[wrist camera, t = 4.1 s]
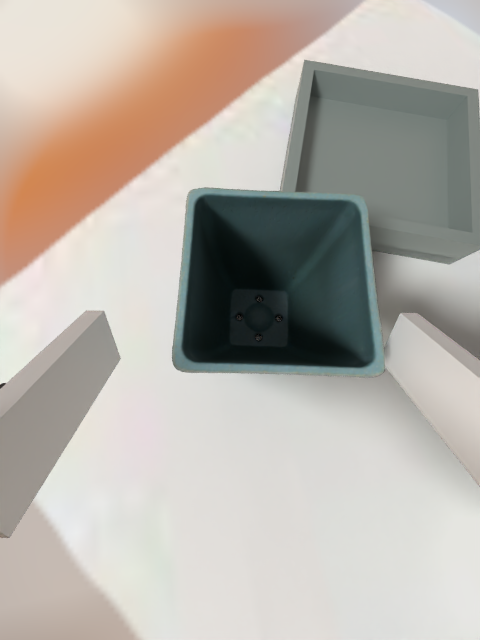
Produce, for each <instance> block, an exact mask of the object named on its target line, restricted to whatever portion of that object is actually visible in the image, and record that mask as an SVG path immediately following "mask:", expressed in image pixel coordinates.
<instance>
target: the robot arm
mask: <svg viewBox="0 0 480 640" xmlns="http://www.w3.org/2000/svg"><path fill="white" fill-rule="evenodd" d="M384 353H385V367H386V368H387V370H388V371H389V372H390V373H391V375H392V376H393V377H394V379H395V380H396V381H397V382H398V384H399V385H400V386H401V387H402V389H403V390H404V391H405V393H406V394H407V395H408V396H409V398H410V399H411V400H412V401H413V403H414V404H415V405H416V406H417V408H418V409H419V410H420V412H421V413H422V414H423V415H424V417H425V418H426V419H427V420H428V422H429V423H430V424H431V426H432V427H433V428H434V429H435V431H436V432H437V433H438V434H439V436H440V437H441V438H442V440H443V441H444V442H445V443H446V445H447V446H448V447H449V448H450V450H451V451H452V452H453V454H454V455H455V456H456V457H457V459H458V460H459V461H460V462H461V464H462V465H463V466H464V468H465V469H466V470H467V471H468V473H469V474H470V475H471V476H472V478H473V479H474V480H475V481H476V483H477V484H478V485H479V487H480V360H479V359H477V358H476V357H475V356H473V355H472V354H471V353H469V352H468V351H467V350H465V349H464V348H463V347H461V346H460V345H459V344H458V343H456V342H455V341H454V340H452V339H451V338H450V337H448V336H447V335H446V334H444V333H443V332H442V331H440V330H439V329H438V328H436V327H435V326H434V325H432V324H431V323H430V322H428V321H427V320H426V319H424V318H423V317H422V316H420V315H419V314H418V313H400V315H399V317H398V319H397V321H396V323H395V326H394V328H393V330H392V332H391V334H390V336H389V339H388V341H387V343H386V345H385V347H384ZM120 359H121V358H120V355H119V352H118V349H117V347H116V344H115V341H114V338H113V335H112V332H111V329H110V327H109V324H108V321H107V318H106V315H105V312H104V311H85V312H84V313H83V314H82V315H81V316H80V317H79V318H77V319H76V320H75V321H74V322H73V323H72V324H71V325H70V326H69V327H68V328H67V329H65V330H64V331H63V332H62V333H61V334H60V335H59V336H58V337H57V338H56V339H54V340H53V341H52V342H51V343H50V344H49V345H48V346H47V347H46V348H45V349H44V350H42V351H41V352H40V353H39V354H38V355H37V356H36V357H35V358H34V359H33V360H31V361H30V362H29V363H28V364H27V365H26V366H25V367H24V368H23V369H22V370H21V371H19V372H18V373H17V374H16V375H15V376H14V377H13V378H12V379H11V380H10V381H8V382H7V383H2V384H1V385H0V538H10V536H11V535H12V533H13V531H14V530H15V528H16V527H17V525H18V523H19V522H20V520H21V519H22V517H23V515H24V514H25V512H26V511H27V509H28V507H29V506H30V504H31V502H32V501H33V499H34V498H35V496H36V494H37V493H38V491H39V490H40V488H41V486H42V485H43V483H44V481H45V480H46V478H47V477H48V475H49V473H50V472H51V470H52V469H53V467H54V465H55V464H56V462H57V461H58V459H59V457H60V456H61V454H62V452H63V451H64V449H65V448H66V446H67V444H68V443H69V441H70V440H71V438H72V436H73V435H74V433H75V431H76V430H77V428H78V427H79V425H80V423H81V422H82V420H83V419H84V417H85V415H86V414H87V412H88V411H89V409H90V407H91V406H92V404H93V402H94V401H95V399H96V398H97V396H98V394H99V393H100V391H101V390H102V388H103V386H104V385H105V383H106V381H107V380H108V378H109V377H110V375H111V373H112V372H113V370H114V369H115V367H116V365H117V364H118V362H119V361H120Z"/></svg>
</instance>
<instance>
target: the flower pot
mask: <svg viewBox="0 0 480 640" xmlns="http://www.w3.org/2000/svg"><path fill="white" fill-rule="evenodd" d="M375 282H376V281H375V273H374V264H373V255H372V247H371V237H370V226H369V210H368V207H367V203H366V201H365V199H364V198H363V196H361V195H358V194H348V193H323V192H322V193H317V192H312V193H311V192H289V191H287V192H283V191H254V190H239V189H237V190H235V189H220V188H206V187H205V188H199V189H193V190H191V191H190V192H189V193H188V196H187V200H186V213H185V225H184V237H183V248H182V262H181V271H180V279H179V292H178V301H177V312H176V321H175V330H174V340H173V347H172V361H173V365H174V367H175V368H176V369H177V370H180V371H182V372H189V373H259V374H294V375H319V376H348V377H367V378H371V377H377V376H379V375H381V374H383V373H384V371H385V353H384V347H383V336H382V330H381V322H380V316H379V308H378V300H377V292H376V285H375ZM258 296H260V297H262V301H261V302H258V301H257V300H256V298H257V297H258ZM239 314H240V315H242V317H243V318H242V320H237V315H239ZM276 316H281V318H282V320H281V321H280V322H278V321H276V319H275V318H276ZM257 334H260V335H261V336H262V340H260V341H258V340H256V338H255V337H256V335H257Z"/></svg>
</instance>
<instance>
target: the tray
mask: <svg viewBox="0 0 480 640" xmlns="http://www.w3.org/2000/svg"><path fill="white" fill-rule="evenodd" d="M280 191H283V192H287V191H289V192H311V193H312V192H317V193H322V192H323V193H348V194H358V195H361V196H363V198H364V199H365V201H366V203H367V207H368V210H369V226H370V237H371V247H372V250H374V251H379V252H385V253H390V254H396V255H401V256H407V257H412V258H418V259H423V260H429V261H434V262H440V263H445V264H451V263H453V262H455V261H457V260H459V259H461V258H464V257H466V256H468V255H470V254H472V253H474V252H476V251H478V250H480V117H479V97H478V89H472V88H466V87H460V86H454V85H448V84H443V83H437V82H431V81H425V80H419V79H413V78H408V77H402V76H396V75H390V74H384V73H379V72H373V71H367V70H361V69H355V68H349V67H344V66H338V65H332V64H326V63H320V62H314V61H309V60H304V65H303V69H302V73H301V78H300V82H299V86H298V91H297V95H296V100H295V106H294V112H293V117H292V123H291V129H290V135H289V141H288V146H287V152H286V158H285V164H284V170H283V175H282V181H281V187H280Z"/></svg>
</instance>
